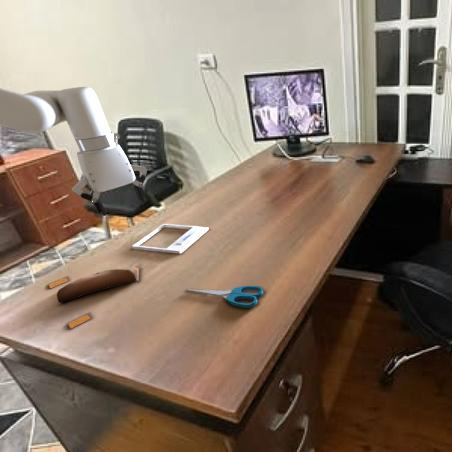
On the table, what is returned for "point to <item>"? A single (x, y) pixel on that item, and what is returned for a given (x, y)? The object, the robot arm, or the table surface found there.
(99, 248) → the table surface
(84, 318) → the tape marks
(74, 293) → the sunglasses case
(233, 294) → the scissors
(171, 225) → the photo frame
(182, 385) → the table surface
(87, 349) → the table surface
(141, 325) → the table surface
